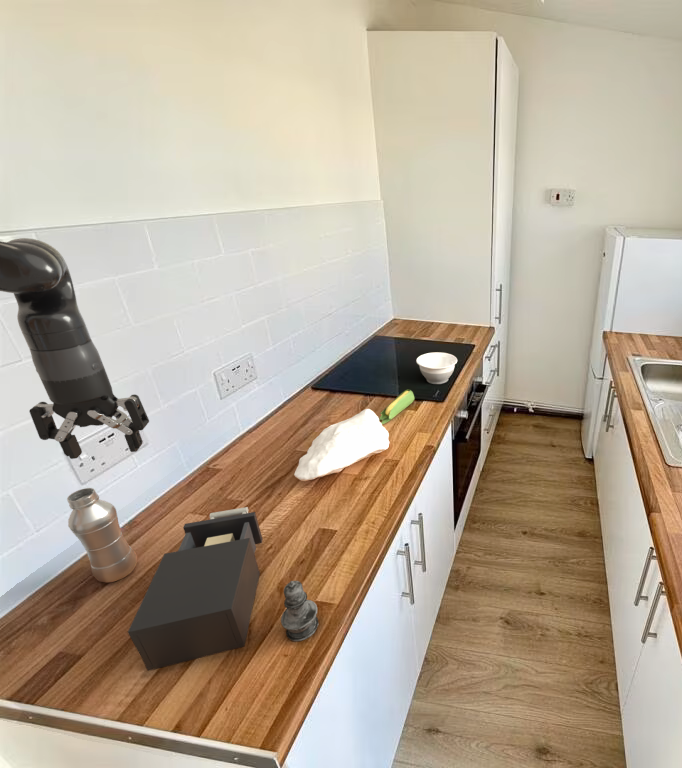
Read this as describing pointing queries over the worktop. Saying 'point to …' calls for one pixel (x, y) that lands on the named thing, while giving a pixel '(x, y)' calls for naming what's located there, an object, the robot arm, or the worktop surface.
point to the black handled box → (197, 604)
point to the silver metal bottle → (100, 536)
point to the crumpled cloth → (343, 446)
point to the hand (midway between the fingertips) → (106, 452)
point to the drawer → (223, 528)
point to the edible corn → (397, 406)
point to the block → (219, 539)
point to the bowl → (437, 366)
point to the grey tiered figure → (298, 613)
